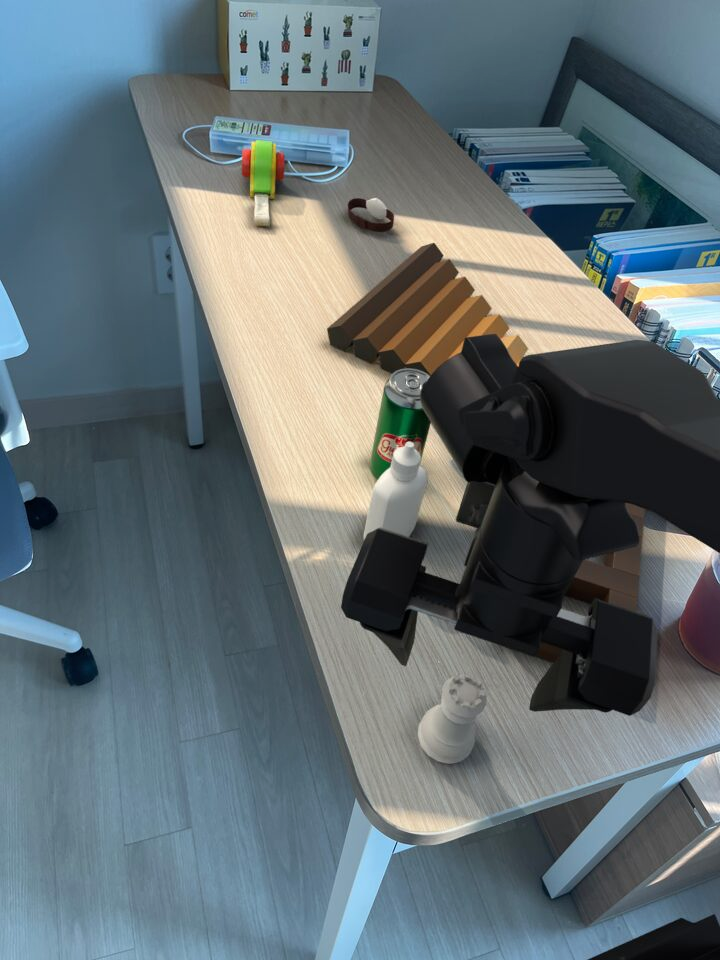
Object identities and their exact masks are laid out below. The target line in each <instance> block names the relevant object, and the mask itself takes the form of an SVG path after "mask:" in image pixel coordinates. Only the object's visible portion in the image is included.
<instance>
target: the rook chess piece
mask: <svg viewBox="0 0 720 960" xmlns="http://www.w3.org/2000/svg"><path fill="white" fill-rule="evenodd" d="M487 701H488V700H487V693H486V690H485V688H484V687H483V683H482V681H481V680H480V679H479V678H476V679H474V678H473V677H472V674H470V673H464V674H463V675H462V674H457V675H454V676H451V677H450V678H449V679H447V680H446V681H445V683H444V684H443V686H442V689H441V700H440V703H439V704H435V705H434V706H433V707H431V708H430V709H428V710H427V711H425V713H424V716H423V717H422V718H421V720H420V722H419V724H418V729H417V737H418V740H419V744H420V747H421V748H422V749H423V751H424V752H425V753H426V754H427V756H429V757H430V758H432V759H433V760H435V761H436V762H438V763H444V764H447V765H448V764H449V765H451V764H455V763H460V762H462V761H463V760H465V759H466V758H467V757H469V755H470V754H471V752H472V750H473V748H474V746H475V745H474V744H475V743H476V733H477V732H476V731H477V729H476V726H475V723H474V721H475V720H476V718H477V717H478V715H480V714H481V713H483V712H484V710H485V708H486V706H487Z"/></svg>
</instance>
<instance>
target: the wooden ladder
mask: <svg viewBox="0 0 720 960" xmlns="http://www.w3.org/2000/svg"><path fill="white" fill-rule="evenodd" d="M626 507H627V510H628V512H629V514H630V515H631V516H632V518H633V519H634V520H635V522H636V524H637V528H638V533H639V536H640V543H639V545H638V546H636V547H633V548H629V549H625V550H621V551H617V552H613V553H609V554H605V555H604V561H603V564H601V563H598V562H594V561H591V560H589V559H584V560H583V562H582V564H581V565H580V568H579V569H578V571H577V573H576V575H575V577H574V579H573V580H572V582H571V584H570V586H569V588H568V590H567V591H566V593H565V595H564V597H567V598H569V599H572V600H576V601H579V602H582V603H585V604H588V605H591V603H592V602H593V600H594V598H596V599H599V600H602V601H605V602H608V603H611V604H614V605H617V606H620V607H623V608H626V609H629V610H632V611H635V612H638V600H639V598H638V597H639V587H640V573H641V559H642V548H643V536H644V526H645V512H646V509H644V508H641V507H638V506H636V505H633V504H629V503H626ZM562 651H563V649H560V648H557V647H554V646H551V645H548V644H545V643H542V642H540V647H539V650H538V651H537V653H536V655H535V657H534V658H538V659H540V660H543V661H546V662H549V663H551V664H553V663H554V661H555V660H556V659H557V657H558V656H559V655H560V653H561V652H562Z"/></svg>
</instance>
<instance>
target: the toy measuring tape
mask: <svg viewBox="0 0 720 960" xmlns="http://www.w3.org/2000/svg"><path fill="white" fill-rule="evenodd" d="M241 152H242V153H241V176H242V177H243V178H249V197H250V198H254V210H253V212H254V214H253V216H254V217H253V218H254V225H255V226H257V227H270V222H271V221H270V219H271V218H270V210H269V208H270V205H269V200H270V199H271V200H274V199H275V198H276V195H275V194H276V181H283V180H284V178H285V165H286V164H285V162H286V160H285V159H286V158H285V157H286V156H285V154H284V153H283V152H281V151H277V144H276V143H275V142H273V141H272V140H271V141H270V140H263V139H255V141H251V148H244V149H242V151H241Z"/></svg>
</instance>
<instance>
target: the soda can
mask: <svg viewBox="0 0 720 960" xmlns="http://www.w3.org/2000/svg"><path fill="white" fill-rule="evenodd" d="M429 377H430V376H429V375H428V374H426V373H425V372H423V371H420V370H417V369H410V368H406V369H405V368H404V369H400V370H397V371H396V372H394V373H393V374H391V375H390V377H389V379H387V381H385V383H384V385H383V391H382V396H381V402H380V407H379V412H378V417H377V423H376V428H375V433H374V439H373V444H372V449H371V455H370V459H369V471H370V473H371V475H372V476H373V477H374V479H376V481H378V479H379V478H380V476H381V475H382V474H383V473H384V472H385V471H386V470H387V469H389V468H390V467H391V462H392V458H393V453H394V451H395V450H396V449H397V448H399V447H404V446H405V444H406V443H407V442H412V443H413V444H414V449H415V450H417V451H418V452H419V454H420V456H421V461H420V464H421V462H422V459H423V455H424V451H425V447H426V445H427V444H426V443H427V439H428V436H429V431H430V428H431V425H432V423H431V421H430V420H429V418H428V416H427V415H426V413H425V411H424V410H423V408H422V405H421V402H420V392H421V389H422V385H423V384H424V383H425V382H426V381H428V379H429Z"/></svg>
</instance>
